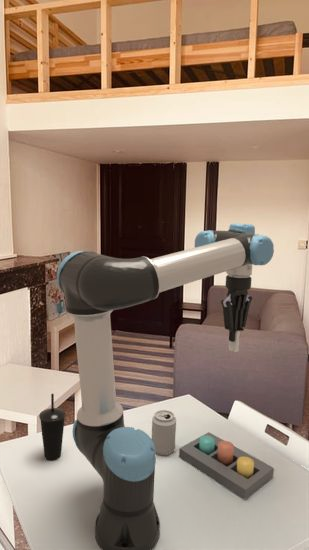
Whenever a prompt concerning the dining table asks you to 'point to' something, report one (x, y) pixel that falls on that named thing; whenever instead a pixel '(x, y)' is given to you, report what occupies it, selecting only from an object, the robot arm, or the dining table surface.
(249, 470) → the yellow plastic cylinder
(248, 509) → the dining table surface
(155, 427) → the can
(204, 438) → the teal cylinder
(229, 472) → the tray
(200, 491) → the dining table surface
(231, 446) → the coral button
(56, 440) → the drinking cup
